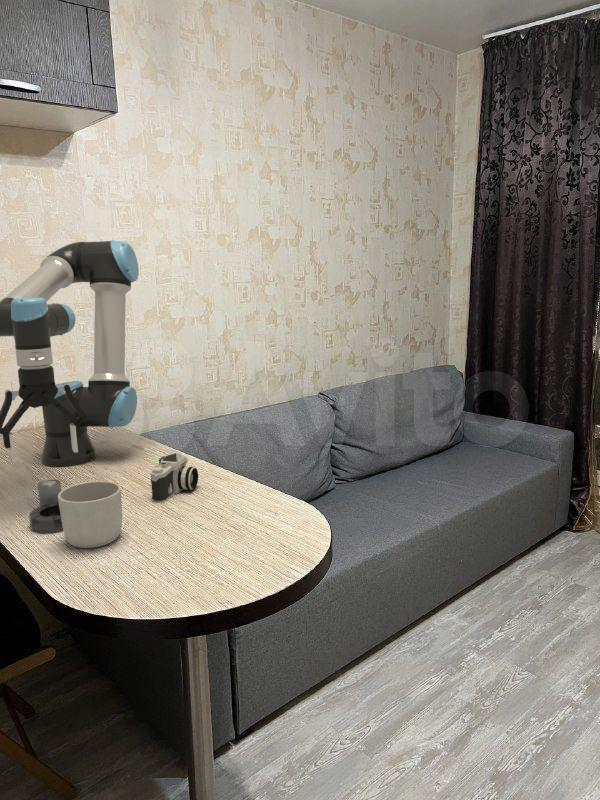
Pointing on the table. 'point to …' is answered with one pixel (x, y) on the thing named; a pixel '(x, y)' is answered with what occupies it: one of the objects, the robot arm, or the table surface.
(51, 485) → the cap
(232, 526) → the table surface
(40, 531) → the grey ring
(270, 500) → the table surface
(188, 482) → the camera
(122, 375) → the robot arm
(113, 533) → the planter
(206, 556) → the table surface
